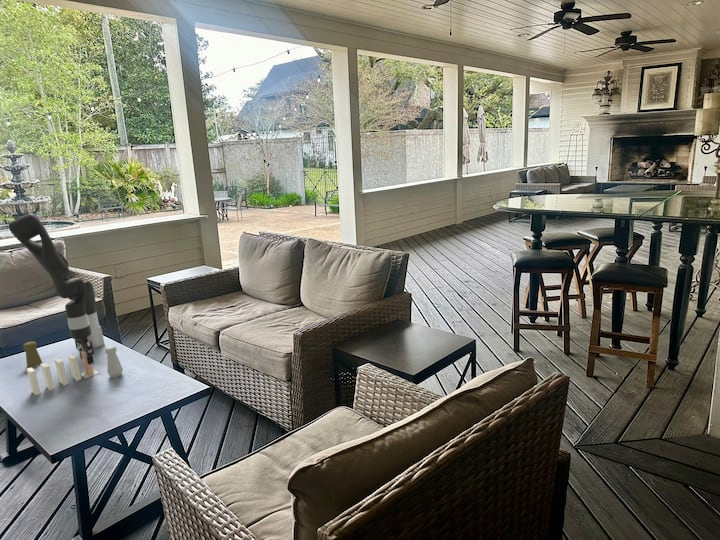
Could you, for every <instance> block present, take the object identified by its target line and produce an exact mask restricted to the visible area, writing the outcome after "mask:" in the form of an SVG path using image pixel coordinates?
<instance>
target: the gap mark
mask: <svg viewBox="0 0 720 540" xmlns="http://www.w3.org/2000/svg"><path fill="white" fill-rule="evenodd" d="M93 372H94V374H93V375H90V376H89V375H88V374H86V373H85V372H82V373H80V375H81V378H84V379H87V378H90V377H92V376H95V375H98V373H99V374H100V372H99V371H97V370H96V369H95V368H93Z"/></svg>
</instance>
